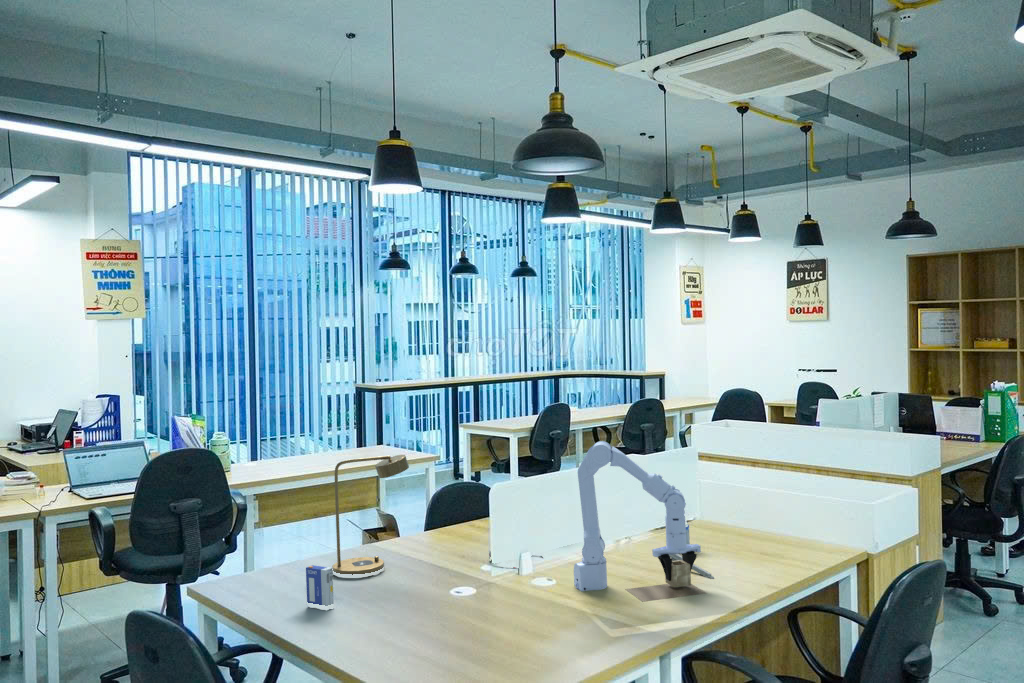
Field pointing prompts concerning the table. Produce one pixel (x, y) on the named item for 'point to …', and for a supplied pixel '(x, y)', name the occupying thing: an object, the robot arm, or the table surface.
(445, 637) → the table surface
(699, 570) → the caliper
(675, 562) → the hollow square tube
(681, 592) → the brown board with peg
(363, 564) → the lamp
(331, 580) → the walkman
